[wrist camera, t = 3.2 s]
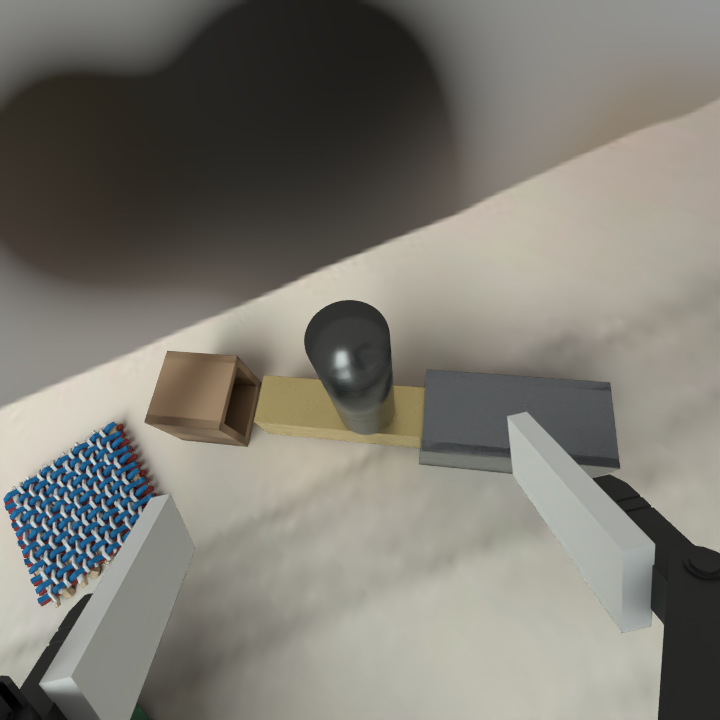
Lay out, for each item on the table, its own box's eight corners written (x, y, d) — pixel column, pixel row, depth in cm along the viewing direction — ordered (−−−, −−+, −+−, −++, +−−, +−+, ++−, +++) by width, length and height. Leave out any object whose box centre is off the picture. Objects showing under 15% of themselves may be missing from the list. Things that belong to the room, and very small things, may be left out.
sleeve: (577, 407, 33) (610, 382, 28) (583, 481, 31) (620, 468, 26) (423, 395, 35) (426, 369, 29) (418, 464, 33) (421, 449, 27)
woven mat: (12, 498, 35) (-10, 495, 33) (124, 420, 37) (110, 414, 35) (54, 613, 31) (32, 618, 30) (177, 521, 33) (164, 520, 31)
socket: (261, 382, 37) (236, 355, 31) (247, 446, 34) (218, 429, 29) (200, 377, 37) (167, 350, 32) (183, 440, 35) (144, 422, 30)
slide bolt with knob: (569, 412, 32) (692, 317, 18) (573, 465, 30) (710, 405, 17) (277, 388, 35) (197, 292, 21) (268, 435, 33) (174, 364, 20)
